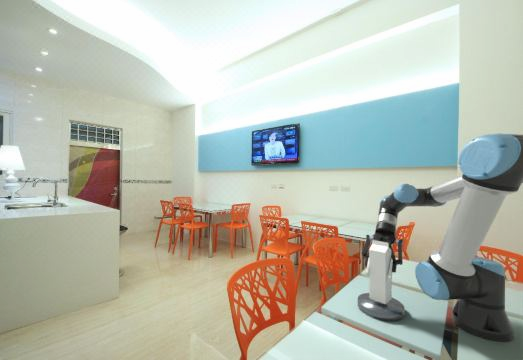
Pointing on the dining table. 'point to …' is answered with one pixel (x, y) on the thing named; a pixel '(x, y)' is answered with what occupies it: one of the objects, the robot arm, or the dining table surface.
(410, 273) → the dining table surface
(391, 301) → the dark grey plate
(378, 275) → the milk
